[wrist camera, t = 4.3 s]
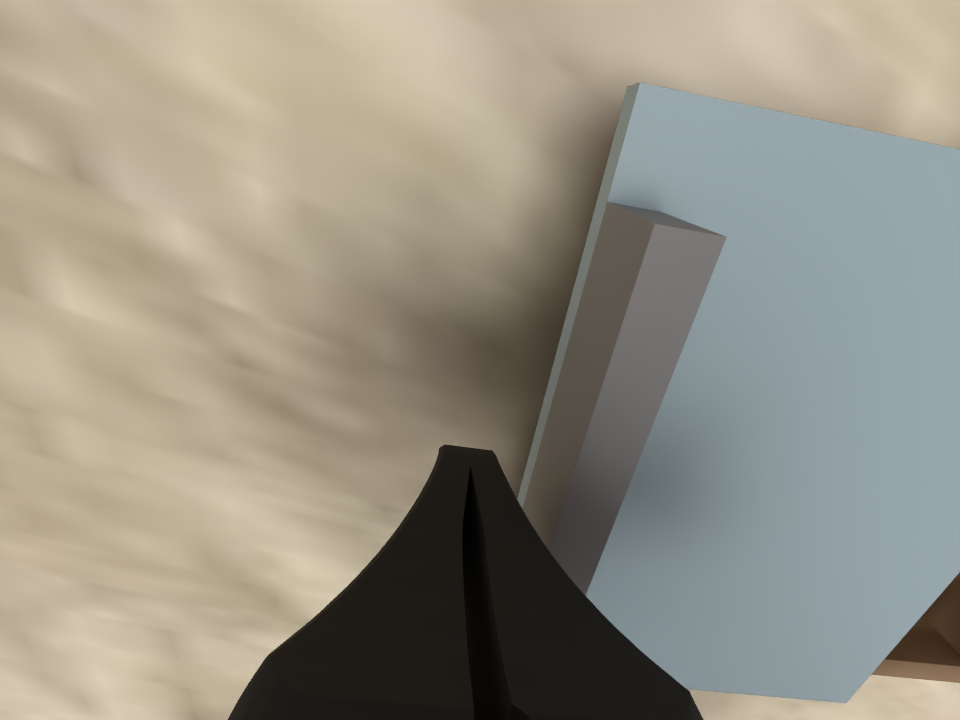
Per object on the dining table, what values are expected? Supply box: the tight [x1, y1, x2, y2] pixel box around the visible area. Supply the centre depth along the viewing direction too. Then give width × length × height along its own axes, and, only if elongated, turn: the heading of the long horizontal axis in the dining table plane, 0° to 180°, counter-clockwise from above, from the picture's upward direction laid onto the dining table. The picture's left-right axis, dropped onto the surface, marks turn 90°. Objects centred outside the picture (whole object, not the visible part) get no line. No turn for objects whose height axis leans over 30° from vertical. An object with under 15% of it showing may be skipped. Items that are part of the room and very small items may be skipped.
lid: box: [517, 83, 960, 703], centre depth 12 cm, size 18×14×4 cm
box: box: [872, 572, 960, 683], centre depth 17 cm, size 18×14×5 cm
